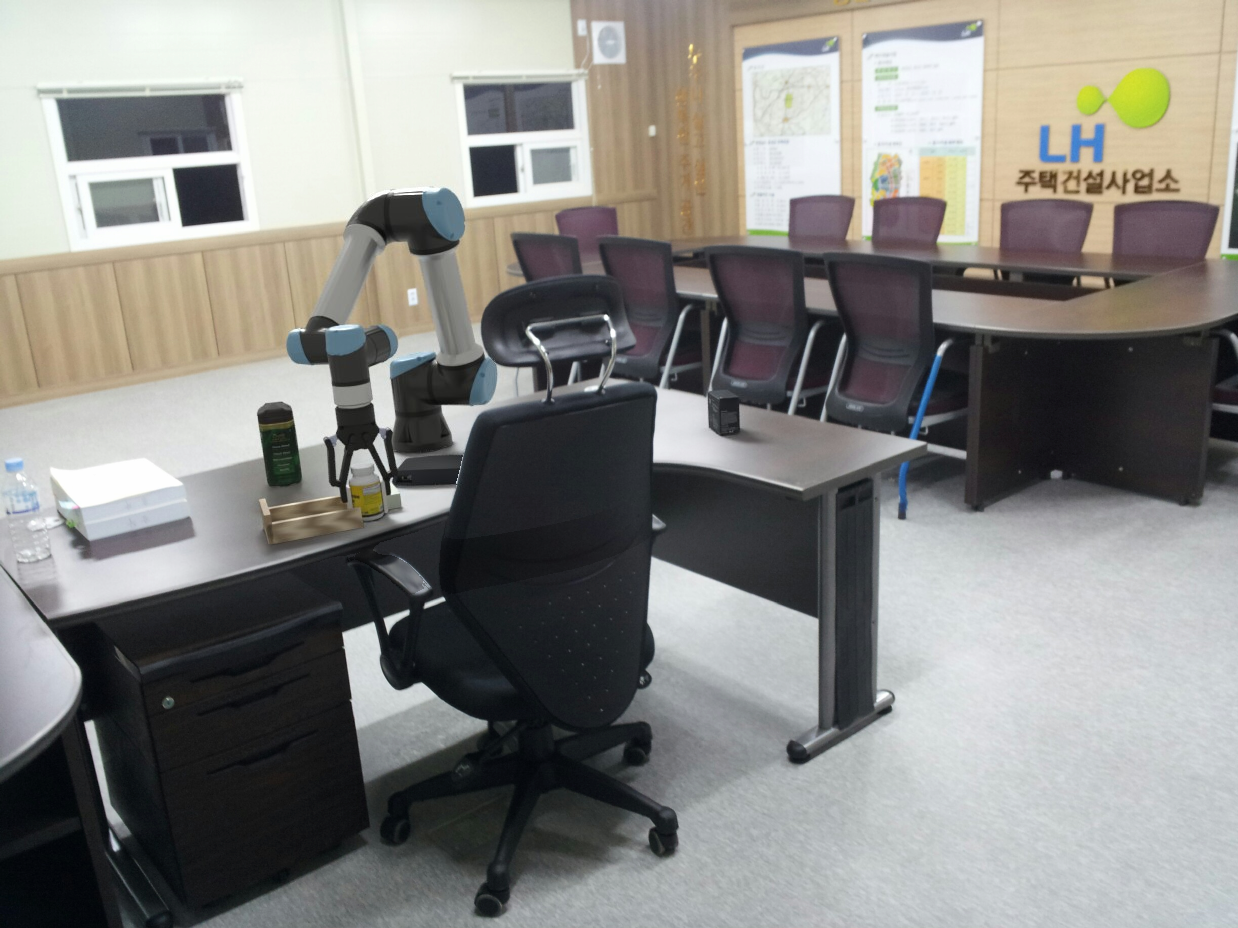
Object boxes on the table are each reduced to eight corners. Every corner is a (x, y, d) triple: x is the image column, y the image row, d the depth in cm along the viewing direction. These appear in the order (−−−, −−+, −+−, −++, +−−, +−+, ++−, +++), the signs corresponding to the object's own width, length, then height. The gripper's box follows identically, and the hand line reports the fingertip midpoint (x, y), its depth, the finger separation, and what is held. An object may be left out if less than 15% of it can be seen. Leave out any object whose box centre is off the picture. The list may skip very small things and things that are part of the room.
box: (741, 433, 265) (740, 396, 263) (719, 436, 264) (718, 398, 262) (728, 425, 274) (727, 388, 271) (707, 427, 273) (706, 391, 270)
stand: (393, 495, 235) (391, 482, 234) (401, 506, 226) (400, 493, 226) (351, 502, 231) (349, 489, 230) (358, 514, 223) (356, 501, 222)
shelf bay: (353, 511, 226) (350, 483, 224) (363, 527, 216) (359, 498, 214) (263, 527, 219) (258, 499, 218) (268, 544, 209) (264, 515, 207)
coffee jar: (304, 485, 246) (292, 406, 241) (268, 490, 244) (255, 410, 238) (302, 474, 255) (290, 397, 249) (267, 479, 253) (255, 401, 247)
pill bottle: (349, 516, 222) (342, 465, 219) (378, 510, 225) (371, 459, 222) (358, 524, 217) (351, 471, 214) (388, 517, 220) (381, 465, 217)
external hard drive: (405, 471, 253) (403, 454, 252) (487, 468, 252) (485, 451, 250) (390, 489, 241) (388, 471, 240) (476, 486, 239) (474, 468, 238)
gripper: (398, 393, 221) (411, 500, 228) (302, 407, 215) (318, 516, 221) (405, 400, 215) (418, 510, 221) (306, 414, 208) (323, 527, 214)
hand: (368, 513), depth 221 cm, fingers closed on pill bottle, 6 cm apart
